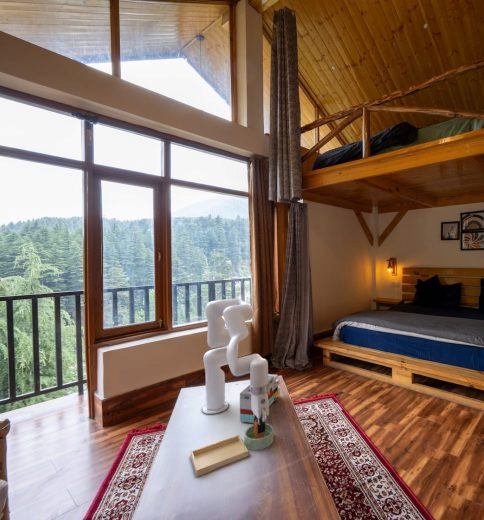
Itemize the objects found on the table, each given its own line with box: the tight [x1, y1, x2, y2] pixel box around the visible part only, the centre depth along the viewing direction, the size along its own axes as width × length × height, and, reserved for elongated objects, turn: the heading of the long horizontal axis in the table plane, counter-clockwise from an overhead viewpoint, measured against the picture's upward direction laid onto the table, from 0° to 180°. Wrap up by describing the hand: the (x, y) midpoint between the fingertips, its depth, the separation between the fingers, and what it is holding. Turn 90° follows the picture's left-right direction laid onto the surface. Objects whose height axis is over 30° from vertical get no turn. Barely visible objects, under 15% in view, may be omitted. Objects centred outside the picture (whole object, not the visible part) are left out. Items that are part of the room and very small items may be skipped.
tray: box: [190, 434, 249, 478], centre depth 121 cm, size 13×19×2 cm
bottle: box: [253, 417, 264, 439], centre depth 130 cm, size 4×4×11 cm
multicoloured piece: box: [239, 373, 281, 424], centre depth 159 cm, size 8×30×15 cm, turn 168°
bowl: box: [244, 423, 274, 451], centre depth 130 cm, size 12×12×5 cm
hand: (259, 429), depth 130 cm, fingers closed on bottle, 4 cm apart
